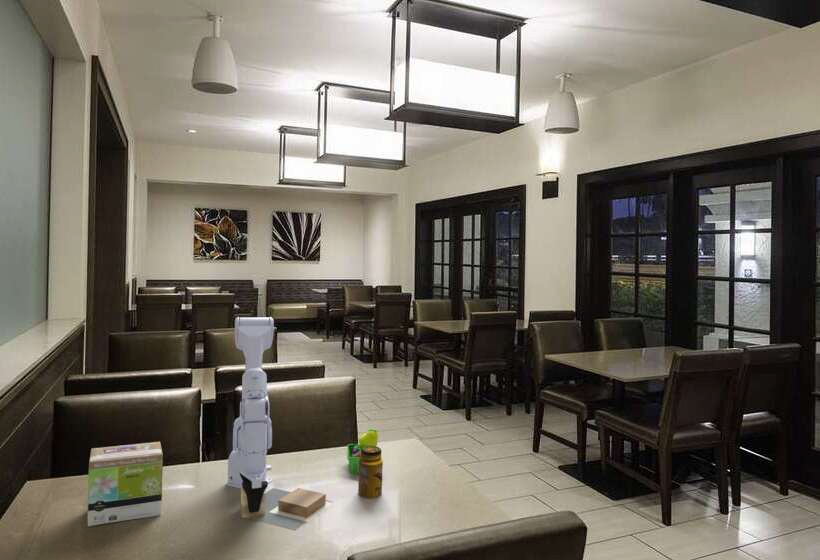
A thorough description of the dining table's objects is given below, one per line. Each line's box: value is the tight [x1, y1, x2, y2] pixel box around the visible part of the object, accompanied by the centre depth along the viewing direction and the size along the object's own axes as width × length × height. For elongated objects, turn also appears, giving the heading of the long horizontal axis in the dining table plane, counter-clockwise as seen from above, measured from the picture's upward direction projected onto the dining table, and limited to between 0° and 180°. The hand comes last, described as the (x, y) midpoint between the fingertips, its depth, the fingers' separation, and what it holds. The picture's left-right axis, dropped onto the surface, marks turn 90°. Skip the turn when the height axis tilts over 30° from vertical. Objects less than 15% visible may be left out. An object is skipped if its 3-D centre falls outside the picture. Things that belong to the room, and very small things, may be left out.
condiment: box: [357, 446, 384, 499], centre depth 142 cm, size 7×8×12 cm
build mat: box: [230, 487, 335, 531], centre depth 133 cm, size 18×16×1 cm
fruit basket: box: [346, 428, 379, 474], centre depth 161 cm, size 11×9×11 cm
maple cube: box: [240, 488, 266, 519], centre depth 131 cm, size 5×5×5 cm
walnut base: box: [278, 487, 327, 518], centre depth 134 cm, size 8×8×2 cm
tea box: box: [87, 441, 164, 528], centre depth 129 cm, size 15×10×15 cm
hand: (252, 506), depth 131 cm, fingers closed on maple cube, 5 cm apart
